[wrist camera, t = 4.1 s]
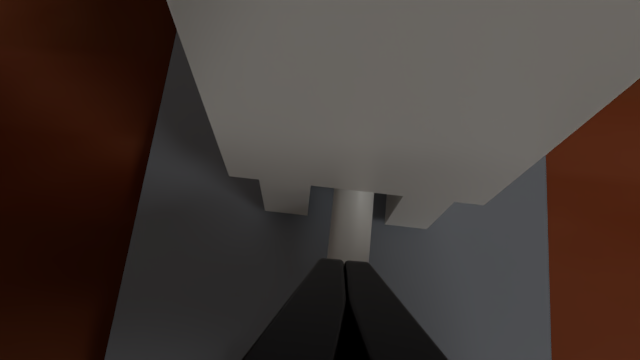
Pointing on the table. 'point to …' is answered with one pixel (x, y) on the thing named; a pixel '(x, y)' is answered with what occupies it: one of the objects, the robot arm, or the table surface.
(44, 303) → the table surface
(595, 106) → the stepped pale block
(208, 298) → the flat grey panel
